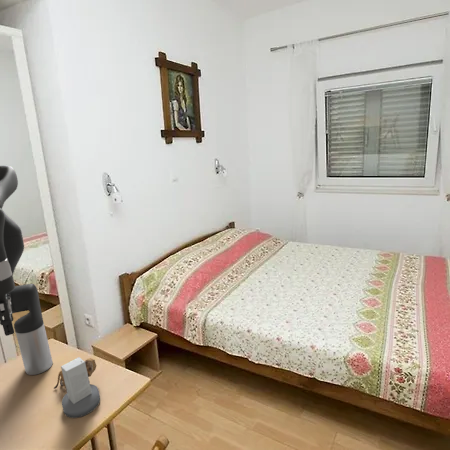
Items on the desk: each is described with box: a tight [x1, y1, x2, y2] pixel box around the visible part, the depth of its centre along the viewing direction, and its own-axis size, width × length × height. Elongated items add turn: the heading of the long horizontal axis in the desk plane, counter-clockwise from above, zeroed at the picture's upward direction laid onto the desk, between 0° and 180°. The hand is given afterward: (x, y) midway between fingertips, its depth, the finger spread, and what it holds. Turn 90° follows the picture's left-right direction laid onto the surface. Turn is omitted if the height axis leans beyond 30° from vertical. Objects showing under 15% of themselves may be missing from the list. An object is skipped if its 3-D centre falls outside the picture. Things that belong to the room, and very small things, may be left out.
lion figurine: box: [53, 357, 97, 390], centre depth 118 cm, size 15×5×9 cm, turn 105°
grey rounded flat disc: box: [61, 383, 101, 419], centre depth 110 cm, size 11×11×3 cm
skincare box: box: [60, 356, 92, 404], centre depth 108 cm, size 6×4×12 cm
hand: (9, 327), depth 101 cm, fingers open, 8 cm apart
